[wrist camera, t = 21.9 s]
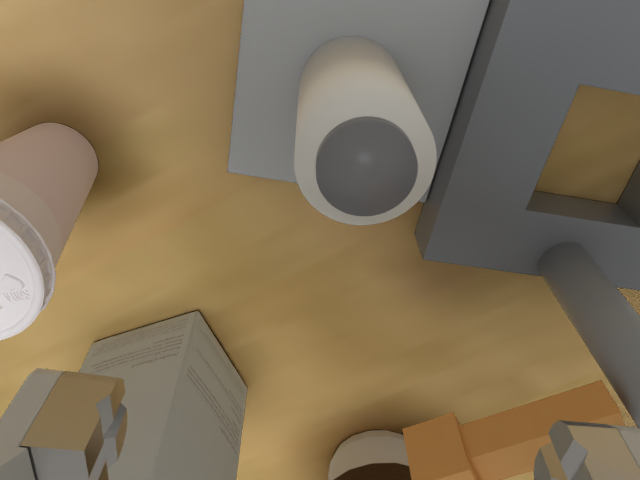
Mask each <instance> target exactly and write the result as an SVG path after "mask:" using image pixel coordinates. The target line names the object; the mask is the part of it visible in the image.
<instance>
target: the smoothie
mask: <svg viewBox="0 0 640 480" xmlns="http://www.w3.org/2000/svg"><path fill="white" fill-rule="evenodd" d="M97 173H98V160H97V156H96V153H95V151H94V149H93V147H92V146H91V144H90V143H89V142H88V141H87V139H86V138H85V137H84V136H82V135H81V134H80V133H79V132H77V131H76V130H74V129H72V128H70V127H68V126H65V125H62V124H58V123H42V124H38V125H35V126H33V127H31V128H29V129H27V130H25V131H22V132H20V133H18V134H16V135H14V136H12V137H10V138H8V139H5V140H3V141H1V142H0V340H3V339H6V338H9V337H12V336H14V335H16V334H18V333H20V332H22V331H23V330H24V329H26V328H27V327H28V326H29V325H30V324H31V323H32V322H33V321H34V320H35V319H36V317H37V316H38V314H39V313H40V312H41V311H42V310H43V309H44V308H46V306H47V304H48V302H49V300H50V298H51V297H52V295H53V293H54V287H55V279H56V271H55V267H56V265H57V263H58V261H59V258H60V255H61V253H62V251H63V249H64V246H65V244H66V242H67V240H68V238H69V235H70V233H71V231H72V229H73V227H74V224H75V222H76V220H77V218H78V216H79V213H80V211H81V209H82V207H83V205H84V202H85V200H86V198H87V196H88V194H89V191H90V189H91V187H92V185H93V183H94V180H95V178H96V176H97Z"/></svg>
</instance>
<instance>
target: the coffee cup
mask: <svg viewBox="0 0 640 480" xmlns="http://www.w3.org/2000/svg"><path fill="white" fill-rule="evenodd" d="M328 480H412V479H411V474H410V468H409V463H408V457H407V452H406V446H405V441H404V436H403V435H402V434H399V433H395V432H391V431H387V430H374V431H366V432H363V433H359V434H356V435H353V436H351V437H350V438H348V439H347V440H345V441H344V442H342V443H341V444H340V446H339V448H338V449H337V451H336V452H335V454H334V456H333V458H332V460H331V462H330V466H329V473H328Z"/></svg>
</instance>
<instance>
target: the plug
mask: <svg viewBox="0 0 640 480" xmlns="http://www.w3.org/2000/svg"><path fill="white" fill-rule="evenodd" d="M436 161H437V151H436V145H435V141H434V137H433V134H432V132H431V130H430V128H429V126H428V124H427V122H426V120H425V118H424V116H423V114H422V112H421V110H420V108H419V106H418V104H417V103H416V101H415V99H414V97H413V95H412V93H411V91H410V89H409V87H408V85H407V83H406V81H405V79H404V77H403V75H402V73H401V71H400V70H399V68H398V66H397V64H396V62H395V60H394V59H393V57H392V56H391V54H390V53H389V52H388V51H387V50H386V49H385V48H384V47H382V46H381V45H380V44H378V43H376V42H375V41H372V40H370V39H367V38H364V37H358V36H346V37H340V38H337V39H334V40H331V41H329V42H327V43H325V44H324V45H322V46H321V47H319V48H318V49H317V50H316V51H315V52H314V53H313V54H312V55H311V56H310V58H309V59H308V60H307V62H306V64H305V66H304V68H303V70H302V73H301V76H300V81H299V92H298V107H297V122H296V137H295V152H294V171H295V177H296V180H297V183H298V186H299V188H300V190H301V192H302V194H303V195H304V197H305V198H306V200H307V201H308V202H309V203H310V204H311V205H312V206H313V207H314V208H315V209H316V210H317V211H319V212H320V213H322V214H323V215H325V216H327V217H329V218H331V219H333V220H335V221H338V222H341V223H345V224H351V225H373V224H378V223H382V222H386V221H388V220H391V219H393V218H396V217H398V216H400V215H401V214H403V213H404V212H406V211H408V210H409V209H410V208H411V207H413V206H414V205H415V204H416V203H417V202H418V201H419V200H420V199H421V197H422V196H423V195H424V193H425V192H426V190H427V189H428V187H429V185H430V183H431V181H432V178H433V175H434V172H435V168H436Z"/></svg>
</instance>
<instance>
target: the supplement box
mask: <svg viewBox="0 0 640 480" xmlns="http://www.w3.org/2000/svg"><path fill="white" fill-rule="evenodd" d="M78 373H86V374H94V375H102V376H110V377H118V378H122V379H124V387H125V394H124V396H123V398H122V401H121V403H122V404H123V405H124V406H125V407H126V408H127V431H126V435H125V439H124V444H123V447H122V450H121V453H120V456H119V458H118V461H117V462H115V463H114V464H113V465H111V466H110V467H109V468H108V469H107V470H108V478H109V480H236V477H237V469H238V460H239V452H240V444H241V435H242V428H243V421H244V413H245V404H246V396H247V387H246V385H245V384H244V382H243V381H242V379H241V377H240V376H239V374H238V373H237V371H236V369H235V368H234V366H233V365H232V363H231V362H230V360H229V358H228V357H227V355H226V354H225V352H224V351H223V349H222V347H221V346H220V344H219V343H218V341H217V340H216V338H215V336H214V335H213V333H212V332H211V330H210V329H209V327H208V325H207V324H206V322H205V321H204V319H203V317H202V316H201V314H200V313H199V312H198V311H195V312H191V313H188V314H185V315H181V316H178V317H175V318H171V319H168V320H165V321H161V322H158V323H155V324H151V325H148V326H145V327H141V328H138V329H135V330H132V331H129V332H125V333H122V334H119V335H116V336H113V337H109V338H106V339H103V340H100V341H97V342H95V343H93V344H92V346H91V348H90V350H89V352H88V354H87V356H86V358H85V360H84V363H83V365H82V367H81V369H80V370H79V372H78Z"/></svg>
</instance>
